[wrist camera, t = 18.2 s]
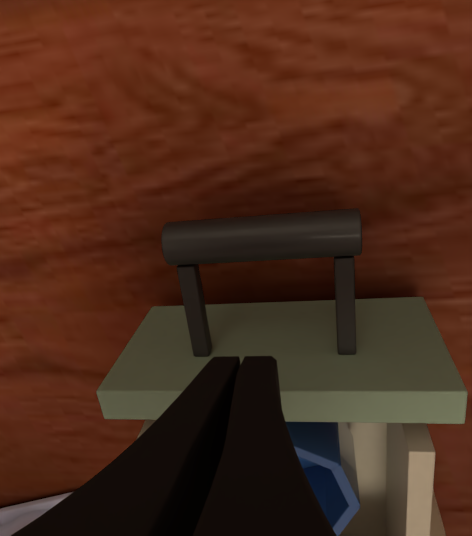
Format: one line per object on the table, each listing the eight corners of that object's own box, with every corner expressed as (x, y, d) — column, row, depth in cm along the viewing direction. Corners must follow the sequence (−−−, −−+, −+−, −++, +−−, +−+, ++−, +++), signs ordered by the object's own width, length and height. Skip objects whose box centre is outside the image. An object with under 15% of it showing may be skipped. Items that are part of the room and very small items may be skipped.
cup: (257, 473, 22) (247, 555, 18) (211, 391, 20) (189, 462, 17) (363, 451, 20) (374, 536, 17) (322, 360, 19) (324, 431, 15)
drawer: (127, 199, 18) (52, 254, 13) (428, 173, 16) (484, 226, 11) (198, 516, 25) (169, 634, 20) (412, 528, 23) (441, 663, 18)
